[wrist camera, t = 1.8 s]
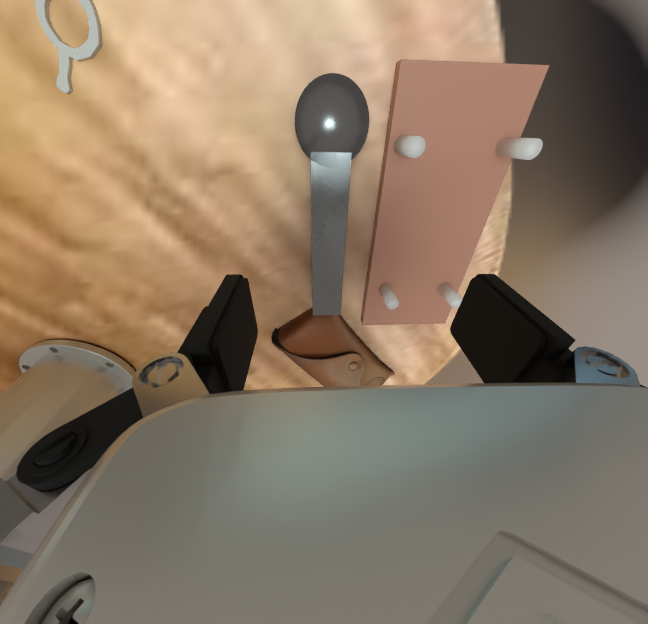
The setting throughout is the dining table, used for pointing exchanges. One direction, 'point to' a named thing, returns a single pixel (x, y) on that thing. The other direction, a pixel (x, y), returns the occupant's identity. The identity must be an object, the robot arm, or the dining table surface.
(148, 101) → the dining table surface
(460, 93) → the peg rack
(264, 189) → the dining table surface
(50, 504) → the robot arm
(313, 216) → the grey spoon
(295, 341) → the sunglasses case
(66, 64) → the scissors
